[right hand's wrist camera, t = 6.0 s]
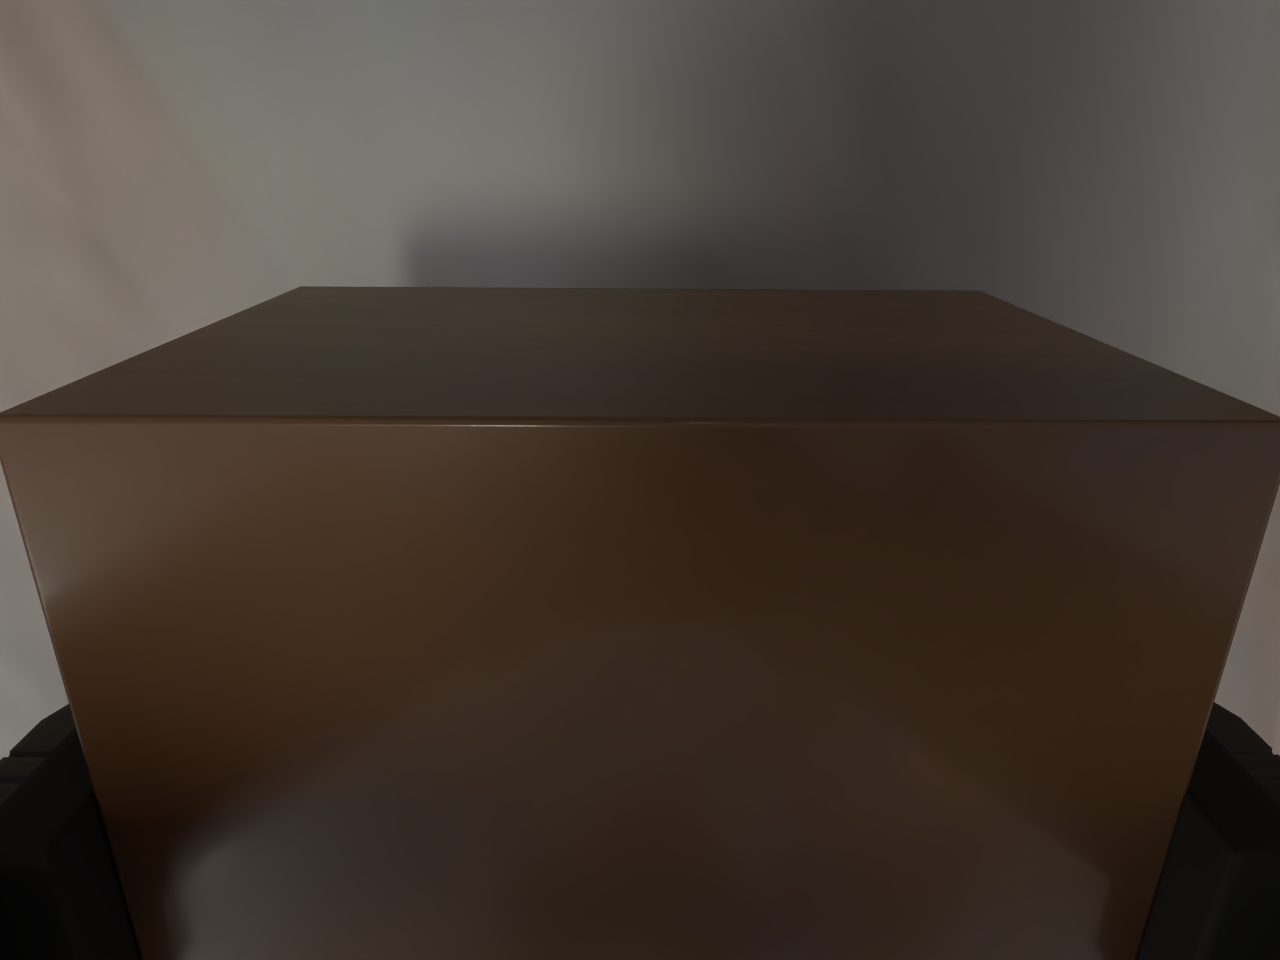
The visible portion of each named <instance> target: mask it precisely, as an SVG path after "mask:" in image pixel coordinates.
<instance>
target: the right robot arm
mask: <svg viewBox="0 0 1280 960" xmlns="http://www.w3.org/2000/svg"><path fill="white" fill-rule="evenodd" d="M0 960H142V959H141V956H140V952H139V949H138V945H137V942H136V938H135V935H134V931H133V927H132V924H131V920H130V917H129V913H128V910H127V906H126V903H125V899H124V896H123V892H122V889H121V885H120V881H119V878H118V874H117V871H116V867H115V864H114V860H113V857H112V853H111V850H110V846H109V843H108V839H107V835H106V832H105V828H104V825H103V821H102V818H101V814H100V811H99V807H98V804H97V800H96V797H95V793H94V789H93V786H92V782H91V779H90V775H89V772H88V768H87V765H86V761H85V758H84V754H83V751H82V747H81V743H80V740H79V736H78V733H77V729H76V726H75V722H74V719H73V715H72V712H71V708H70V705H69V704H68V705H66V706H65V707H63V708H61V709H60V710H58V711H56V712H55V713H53V714H51V715H50V716H48V717H46V718H45V719H43V720H41V721H40V722H39V723H38V724H37V725H36V726H35V727H34V728H33V729H32V730H31V731H30V732H29V733H28V734H27V735H26V736H25V737H24V738H23V739H22V740H21V741H20V742H19V743H18V744H17V745H16V746H15V747H14V748H13V749H12V750H11V751H10V755H9V757H3V758H2V759H1V760H0ZM1136 960H1280V756H1279V755H1273V753H1272V748H1271V747H1270V746H1269V745H1268V744H1267V743H1266V742H1265V741H1264V740H1263V739H1262V738H1261V737H1260V736H1258V735H1257V734H1256V733H1255V732H1254V731H1253V730H1252V729H1251V728H1250V727H1249V726H1248V725H1247V724H1246V723H1245V722H1244V721H1243V720H1242V719H1241V718H1240V717H1238V716H1236V715H1235V714H1233V713H1231V712H1230V711H1228V710H1226V709H1225V708H1223V707H1221V706H1220V705H1218V704H1216V703H1215V702H1214V703H1213V706H1212V710H1211V713H1210V716H1209V720H1208V723H1207V726H1206V730H1205V733H1204V736H1203V740H1202V743H1201V746H1200V750H1199V753H1198V756H1197V760H1196V763H1195V766H1194V770H1193V773H1192V776H1191V780H1190V783H1189V786H1188V790H1187V793H1186V796H1185V799H1184V803H1183V806H1182V809H1181V813H1180V816H1179V819H1178V823H1177V826H1176V829H1175V833H1174V836H1173V839H1172V843H1171V846H1170V849H1169V853H1168V856H1167V859H1166V863H1165V866H1164V869H1163V873H1162V876H1161V879H1160V883H1159V886H1158V889H1157V893H1156V896H1155V899H1154V903H1153V906H1152V909H1151V913H1150V916H1149V919H1148V923H1147V926H1146V929H1145V933H1144V936H1143V939H1142V943H1141V946H1140V949H1139V952H1138V956H1137V959H1136Z"/></svg>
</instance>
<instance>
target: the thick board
mask: <svg viewBox="0 0 1280 960" xmlns="http://www.w3.org/2000/svg"><path fill="white" fill-rule="evenodd" d="M0 461H1V464H2V468H3V471H4V475H5V478H6V482H7V485H8V489H9V492H10V496H11V499H12V503H13V507H14V510H15V514H16V517H17V521H18V524H19V528H20V531H21V535H22V538H23V542H24V545H25V549H26V552H27V556H28V560H29V563H30V567H31V570H32V574H33V577H34V581H35V584H36V588H37V591H38V595H39V598H40V602H41V606H42V609H43V613H44V616H45V620H46V623H47V627H48V630H49V634H50V637H51V641H52V644H53V648H54V652H55V655H56V659H57V662H58V666H59V669H60V673H61V676H62V680H63V683H64V687H65V690H66V694H67V698H68V701H69V705H70V708H71V712H72V715H73V719H74V722H75V726H76V729H77V733H78V736H79V740H80V743H81V747H82V751H83V754H84V758H85V761H86V765H87V768H88V772H89V775H90V779H91V782H92V786H93V789H94V793H95V797H96V800H97V804H98V807H99V811H100V814H101V818H102V821H103V825H104V828H105V832H106V835H107V839H108V843H109V846H110V850H111V853H112V857H113V860H114V864H115V867H116V871H117V874H118V878H119V881H120V885H121V889H122V892H123V896H124V899H125V903H126V906H127V910H128V913H129V917H130V920H131V924H132V927H133V931H134V935H135V938H136V942H137V945H138V949H139V952H140V956H141V959H142V960H1136V959H1137V956H1138V952H1139V949H1140V946H1141V943H1142V939H1143V936H1144V933H1145V929H1146V926H1147V923H1148V919H1149V916H1150V913H1151V909H1152V906H1153V903H1154V899H1155V896H1156V893H1157V889H1158V886H1159V883H1160V879H1161V876H1162V873H1163V869H1164V866H1165V863H1166V859H1167V856H1168V853H1169V849H1170V846H1171V843H1172V839H1173V836H1174V833H1175V829H1176V826H1177V823H1178V819H1179V816H1180V813H1181V809H1182V806H1183V803H1184V799H1185V796H1186V793H1187V790H1188V786H1189V783H1190V780H1191V776H1192V773H1193V770H1194V766H1195V763H1196V760H1197V756H1198V753H1199V750H1200V746H1201V743H1202V740H1203V736H1204V733H1205V730H1206V726H1207V723H1208V720H1209V716H1210V713H1211V710H1212V706H1213V703H1214V700H1215V696H1216V693H1217V690H1218V686H1219V683H1220V680H1221V676H1222V673H1223V670H1224V666H1225V663H1226V660H1227V656H1228V653H1229V650H1230V647H1231V643H1232V640H1233V637H1234V633H1235V630H1236V627H1237V623H1238V620H1239V617H1240V613H1241V610H1242V607H1243V603H1244V600H1245V597H1246V593H1247V590H1248V587H1249V583H1250V580H1251V577H1252V573H1253V570H1254V567H1255V563H1256V560H1257V557H1258V553H1259V550H1260V547H1261V543H1262V540H1263V537H1264V533H1265V530H1266V527H1267V523H1268V520H1269V517H1270V513H1271V510H1272V507H1273V503H1274V500H1275V497H1276V494H1277V490H1278V487H1279V484H1280V417H1279V416H1277V415H1274V414H1272V413H1270V412H1267V411H1265V410H1262V409H1260V408H1258V407H1255V406H1253V405H1250V404H1248V403H1246V402H1243V401H1241V400H1239V399H1236V398H1234V397H1231V396H1229V395H1227V394H1224V393H1222V392H1220V391H1217V390H1215V389H1212V388H1210V387H1208V386H1205V385H1203V384H1200V383H1198V382H1196V381H1193V380H1191V379H1189V378H1186V377H1184V376H1181V375H1179V374H1177V373H1174V372H1172V371H1170V370H1167V369H1165V368H1162V367H1160V366H1158V365H1155V364H1153V363H1151V362H1148V361H1146V360H1143V359H1141V358H1139V357H1136V356H1134V355H1131V354H1129V353H1127V352H1124V351H1122V350H1120V349H1117V348H1115V347H1112V346H1110V345H1108V344H1105V343H1103V342H1101V341H1098V340H1096V339H1093V338H1091V337H1089V336H1086V335H1084V334H1081V333H1079V332H1077V331H1074V330H1072V329H1070V328H1067V327H1065V326H1062V325H1060V324H1058V323H1055V322H1053V321H1051V320H1048V319H1046V318H1043V317H1041V316H1039V315H1036V314H1034V313H1031V312H1029V311H1027V310H1024V309H1022V308H1020V307H1017V306H1015V305H1012V304H1010V303H1008V302H1005V301H1003V300H1001V299H998V298H996V297H993V296H991V295H989V294H986V293H984V292H981V291H946V290H785V289H623V288H462V287H298V288H296V289H293V290H291V291H289V292H286V293H284V294H282V295H279V296H277V297H274V298H272V299H270V300H267V301H265V302H262V303H260V304H258V305H255V306H253V307H251V308H248V309H246V310H243V311H241V312H239V313H236V314H234V315H232V316H229V317H227V318H224V319H222V320H220V321H217V322H215V323H213V324H210V325H208V326H205V327H203V328H201V329H198V330H196V331H194V332H191V333H189V334H186V335H184V336H182V337H179V338H177V339H174V340H172V341H170V342H167V343H165V344H163V345H160V346H158V347H155V348H153V349H151V350H148V351H146V352H144V353H141V354H139V355H136V356H134V357H132V358H129V359H127V360H125V361H122V362H120V363H117V364H115V365H113V366H110V367H108V368H106V369H103V370H101V371H98V372H96V373H94V374H91V375H89V376H86V377H84V378H82V379H79V380H77V381H75V382H72V383H70V384H67V385H65V386H63V387H60V388H58V389H56V390H53V391H51V392H48V393H46V394H44V395H41V396H39V397H37V398H34V399H32V400H29V401H27V402H25V403H22V404H20V405H17V406H15V407H13V408H10V409H8V410H6V411H3V412H1V413H0Z"/></svg>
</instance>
